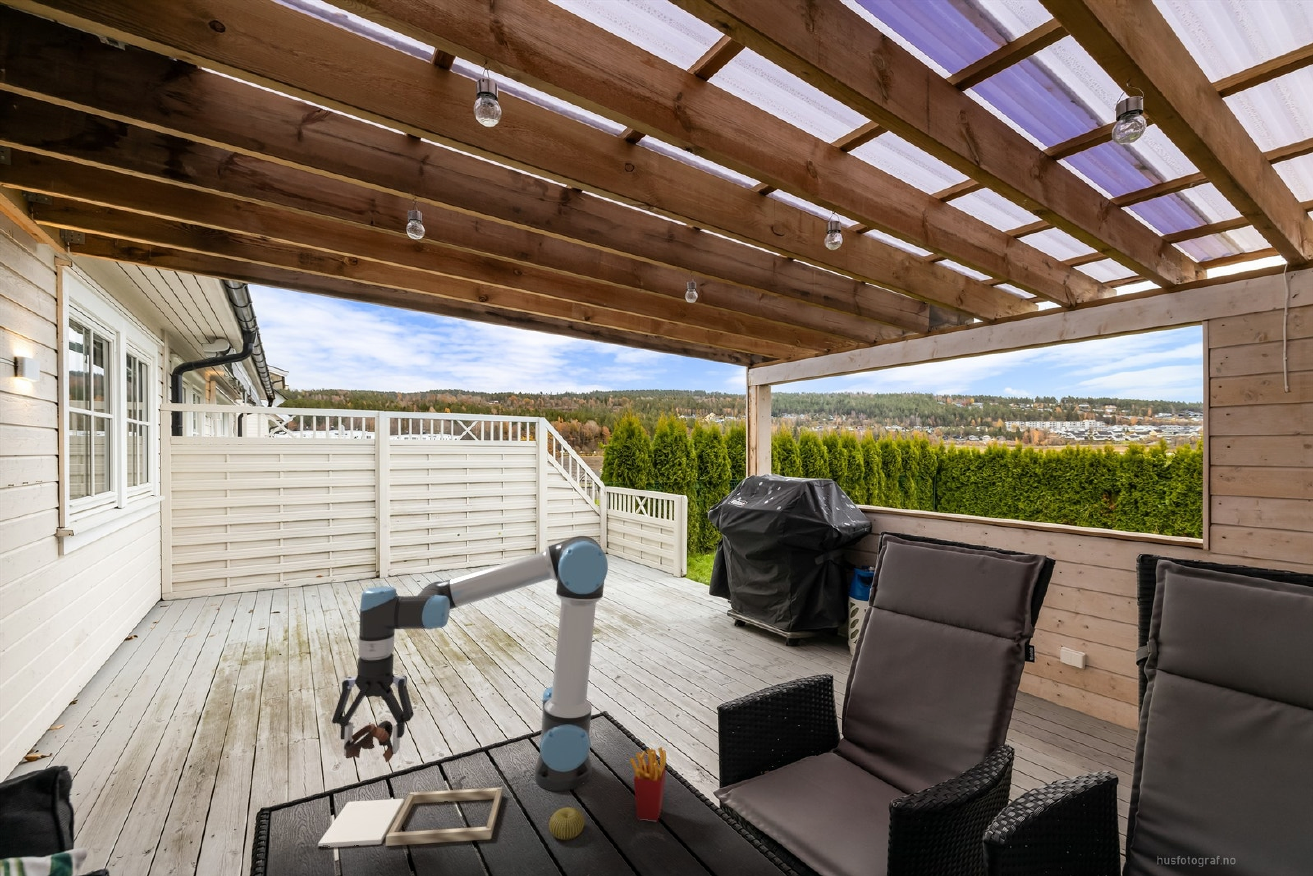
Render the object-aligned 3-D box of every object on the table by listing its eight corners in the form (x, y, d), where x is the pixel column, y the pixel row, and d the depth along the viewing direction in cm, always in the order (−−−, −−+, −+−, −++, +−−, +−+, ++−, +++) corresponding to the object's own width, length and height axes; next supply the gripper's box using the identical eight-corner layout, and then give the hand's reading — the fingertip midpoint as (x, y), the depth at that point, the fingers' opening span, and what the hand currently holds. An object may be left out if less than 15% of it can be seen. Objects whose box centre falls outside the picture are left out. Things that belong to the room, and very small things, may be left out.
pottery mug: (384, 772, 125) (364, 742, 124) (350, 786, 127) (330, 757, 125) (411, 732, 137) (393, 705, 135) (379, 746, 138) (361, 719, 137)
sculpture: (583, 801, 133) (585, 823, 126) (583, 819, 133) (585, 841, 125) (548, 805, 132) (549, 827, 124) (548, 823, 132) (549, 846, 124)
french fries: (660, 826, 131) (661, 760, 131) (626, 820, 132) (626, 755, 133) (668, 803, 139) (668, 741, 140) (635, 799, 141) (636, 737, 142)
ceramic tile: (403, 802, 139) (403, 798, 139) (380, 844, 124) (380, 839, 124) (347, 806, 137) (348, 801, 137) (317, 848, 122) (318, 843, 122)
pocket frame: (502, 795, 142) (502, 787, 142) (490, 839, 126) (491, 829, 126) (409, 800, 139) (410, 792, 140) (385, 845, 123) (386, 836, 123)
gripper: (317, 661, 127) (312, 762, 126) (421, 659, 130) (417, 758, 129) (332, 650, 135) (328, 745, 134) (430, 648, 137) (426, 742, 136)
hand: (372, 752), depth 131 cm, fingers closed on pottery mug, 10 cm apart
